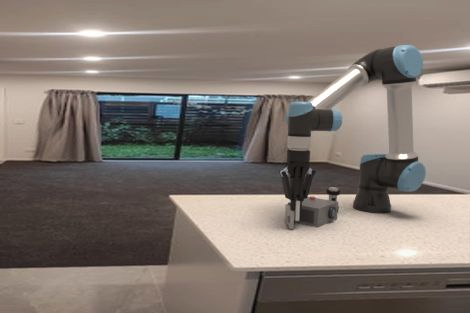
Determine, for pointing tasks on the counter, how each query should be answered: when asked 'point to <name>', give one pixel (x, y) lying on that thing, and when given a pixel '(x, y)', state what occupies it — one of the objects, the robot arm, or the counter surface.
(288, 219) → the door
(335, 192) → the push button
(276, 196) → the counter surface
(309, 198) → the housing
